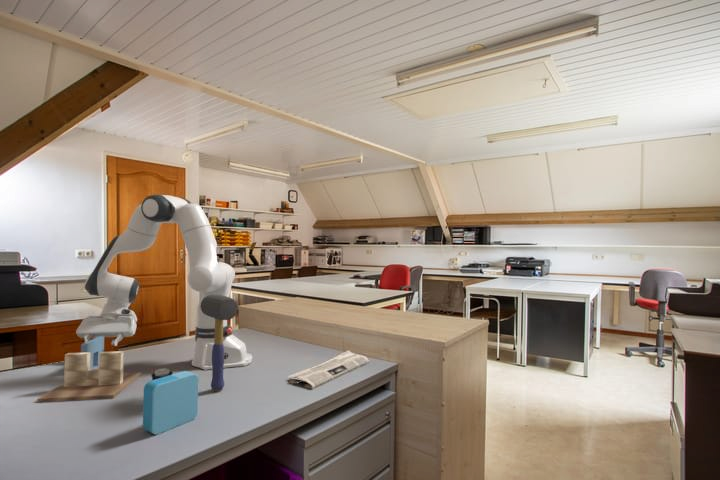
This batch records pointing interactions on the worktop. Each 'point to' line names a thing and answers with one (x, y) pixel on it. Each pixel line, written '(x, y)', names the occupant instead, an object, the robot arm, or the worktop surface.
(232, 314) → the rubber mallet
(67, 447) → the worktop surface
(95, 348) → the slotted plate
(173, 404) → the blue carrying case
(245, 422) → the worktop surface
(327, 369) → the newspaper
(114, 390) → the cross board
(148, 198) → the robot arm
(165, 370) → the push button
